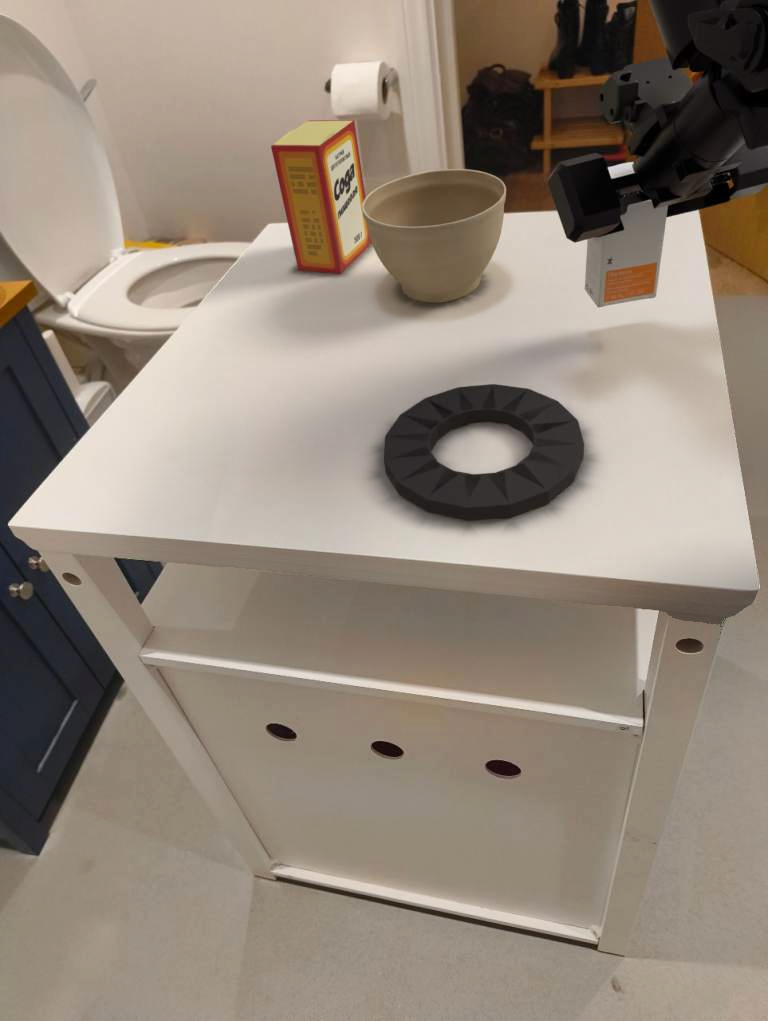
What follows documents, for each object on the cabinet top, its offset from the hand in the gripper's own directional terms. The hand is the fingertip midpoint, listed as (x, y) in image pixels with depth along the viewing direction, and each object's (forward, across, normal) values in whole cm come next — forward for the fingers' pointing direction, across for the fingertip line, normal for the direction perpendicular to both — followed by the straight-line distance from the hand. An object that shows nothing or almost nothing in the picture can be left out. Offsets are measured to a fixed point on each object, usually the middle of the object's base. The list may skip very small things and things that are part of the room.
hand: (618, 224), depth 70 cm
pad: (-1, +20, +17) cm, 27 cm away
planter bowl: (+21, +12, -6) cm, 25 cm away
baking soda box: (+33, +21, -17) cm, 42 cm away
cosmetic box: (+4, 0, +6) cm, 7 cm away
